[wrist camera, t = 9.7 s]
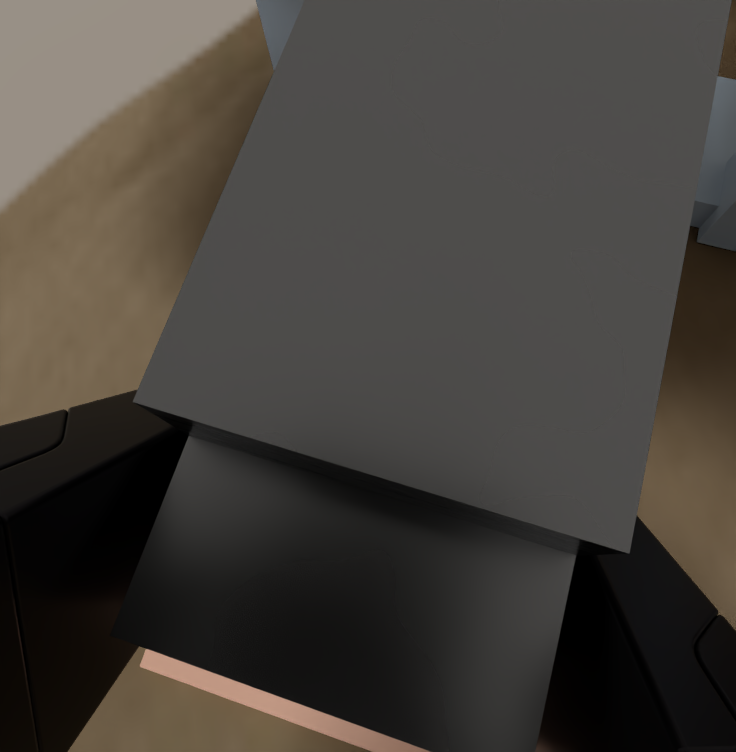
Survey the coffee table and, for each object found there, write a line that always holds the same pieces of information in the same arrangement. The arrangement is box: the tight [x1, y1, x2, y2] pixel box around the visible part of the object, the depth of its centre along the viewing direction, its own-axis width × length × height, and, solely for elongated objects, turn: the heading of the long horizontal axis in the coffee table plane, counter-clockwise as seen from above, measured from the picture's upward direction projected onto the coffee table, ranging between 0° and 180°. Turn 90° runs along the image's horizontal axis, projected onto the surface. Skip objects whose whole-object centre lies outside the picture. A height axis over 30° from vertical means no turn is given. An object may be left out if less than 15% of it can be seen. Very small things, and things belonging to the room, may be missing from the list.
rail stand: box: [256, 0, 736, 251], centre depth 15 cm, size 16×5×10 cm, turn 73°
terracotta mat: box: [140, 649, 430, 752], centre depth 16 cm, size 10×10×1 cm
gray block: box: [110, 0, 732, 752], centre depth 10 cm, size 4×7×11 cm, turn 163°
